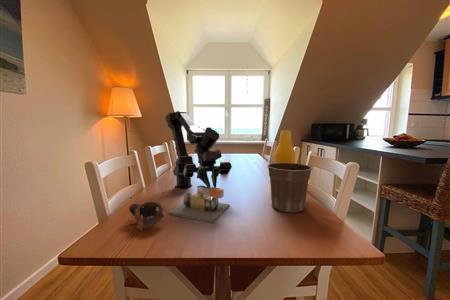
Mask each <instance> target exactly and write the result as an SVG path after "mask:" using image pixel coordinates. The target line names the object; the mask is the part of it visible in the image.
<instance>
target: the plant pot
mask: <svg viewBox="0 0 450 300" xmlns="http://www.w3.org/2000/svg"><path fill="white" fill-rule="evenodd" d="M267 168H268V176H269V182H270V196H271V197H270V198H271V199H270V200H271V207H272V208H273V209H275V210H278V211H279V212H283V213H288V214H293V213H294V214H296V213H300V212H303V211H304V210H305V209H306V208H305V207H306V199H307V194H308V193H307V192H308V187H309V180H310V178H311V171H312V170H313V167H312V166H310V165H308V164H302V163H296V162H295V163H274V162H272V163H268V164H267Z"/></svg>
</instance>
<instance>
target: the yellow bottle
mask: <svg viewBox="0 0 450 300" xmlns="http://www.w3.org/2000/svg"><path fill="white" fill-rule="evenodd" d="M278 141H279V142H278V146H277V147H276V150H275V152H274V156H273V157H274V158H273V159H274V160H273V163H296V152H295V149H294V146H293V143H292V132H291V130H280V135H279V140H278Z"/></svg>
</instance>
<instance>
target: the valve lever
mask: <svg viewBox="0 0 450 300" xmlns="http://www.w3.org/2000/svg"><path fill="white" fill-rule="evenodd" d="M224 191H225V189H224V188H220V187H216V188H215V187H214V186H211V187H207V186H206V185H197V186H196V193H197V194H204V195H209V196H211V198H213V197H216V198H218V199H222V198H224Z"/></svg>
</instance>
